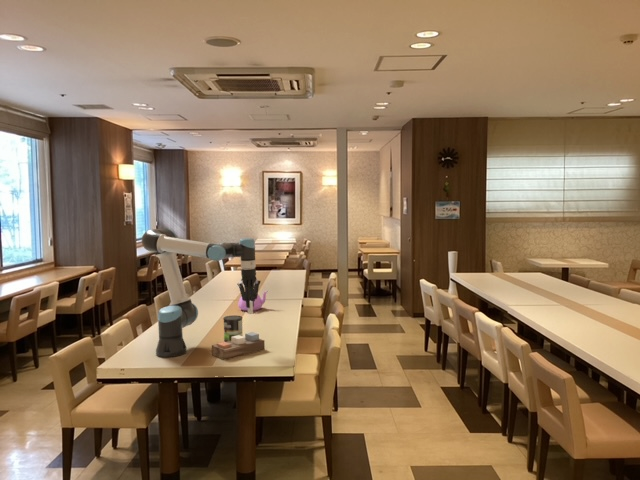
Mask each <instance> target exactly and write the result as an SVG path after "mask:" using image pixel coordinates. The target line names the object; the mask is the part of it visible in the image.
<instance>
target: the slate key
mask: <svg viewBox="0 0 640 480" xmlns="http://www.w3.org/2000/svg"><path fill="white" fill-rule="evenodd" d="M244 337H245V339H246V340H249V341H256V340H259V339H260V334H259V333H256V332H253V331H251V332H247V333H244Z"/></svg>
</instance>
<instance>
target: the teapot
mask: <svg viewBox="0 0 640 480" xmlns="http://www.w3.org/2000/svg"><path fill="white" fill-rule="evenodd" d="M268 291H269V290H265V291H263V293H262V298H261V296H260V295H259V294H258V295H257V299H255V301H254V307H253V312H254V311H258V310H261V308H262V307H263V305H264V304H265V303H266V300H267V299H266V297H267V296H266V294H267V293H268ZM237 305H238V308H239V309H240V310H241V311H244V312H246V311H247V312H248V308H247V307H246V301H243V300H242V296H240V298H239V300H238V304H237Z"/></svg>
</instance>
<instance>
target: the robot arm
mask: <svg viewBox="0 0 640 480" xmlns="http://www.w3.org/2000/svg"><path fill="white" fill-rule="evenodd" d="M255 243H256V242H255V239H254V238H249V237H248V238H241V239H239V242H220V243H219V244H216V243H210V242H204V241H197V240H191V239H185V238H178V235H177V233H176V232H175V231H174V230H172V229H171V228H169V227H168V228H166V227H161V228H154V229H153V228H152V229H149V230H146V231H145V232H144V233H143V235H142V236H141V244H142V246H143V248H144V249H145V250H147V252H152V253H153V252H154V255H155V257H156V258H158V259H159V262H160V265H161V270H162V272H163V278H164V282H165V284H166V287H167V292H168V294H169V298H170V303H169V305H168V306H164V307H162V308H160V309H159V311H158V315H157V322H158V341H157V346H156V348H155V355H156V357H161V358H173V357H179V356H182V355H184V354H186V353H187V351H188V349H187V344H186V342H185V340H184V337H183V329H184V328H186V327H188V326H191V325H192V324H193V323H195V321H197V319H198V316H199V310H198V307H197V305H196V304H194V303H193V302H192V299H191V297H189V296H188V295H187V292H186V288H185V284H184V280H183V277H182V274H181V270H180V266H179V263H178V259H177V255H176V254H179V255H186V256H193V257H200V258H206V259H210V260H211V261H214V262H219V261H220V262H221V261H222V260H224V259H225V260H226V259H229V258H240V268H241V269H240V274H241V279H240V282H238V283H237V287H239V291H240V295H241V296H242V300H243V301H246V307H247V308H248V311H247V314H249V315H253V314H254V311H253V307H254V301H255V299H257V295H259V294H258V293H259V288H260V287H259V286H260V284H261V280H258V279H257V269H256V268H257V265H256V244H255ZM241 296H240V297H241Z"/></svg>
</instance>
